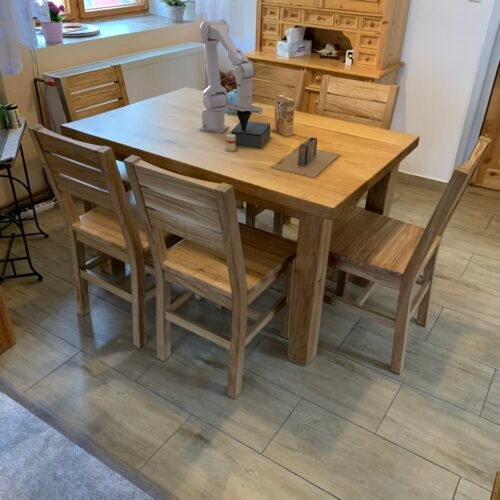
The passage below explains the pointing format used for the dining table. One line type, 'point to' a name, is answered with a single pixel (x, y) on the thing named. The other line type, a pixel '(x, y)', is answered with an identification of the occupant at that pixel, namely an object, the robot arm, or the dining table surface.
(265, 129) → the carton
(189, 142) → the dining table surface
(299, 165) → the architectural model on board
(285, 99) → the candy box
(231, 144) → the red-banded cylinder
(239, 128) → the flap
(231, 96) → the teapot
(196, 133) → the dining table surface
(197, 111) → the dining table surface
